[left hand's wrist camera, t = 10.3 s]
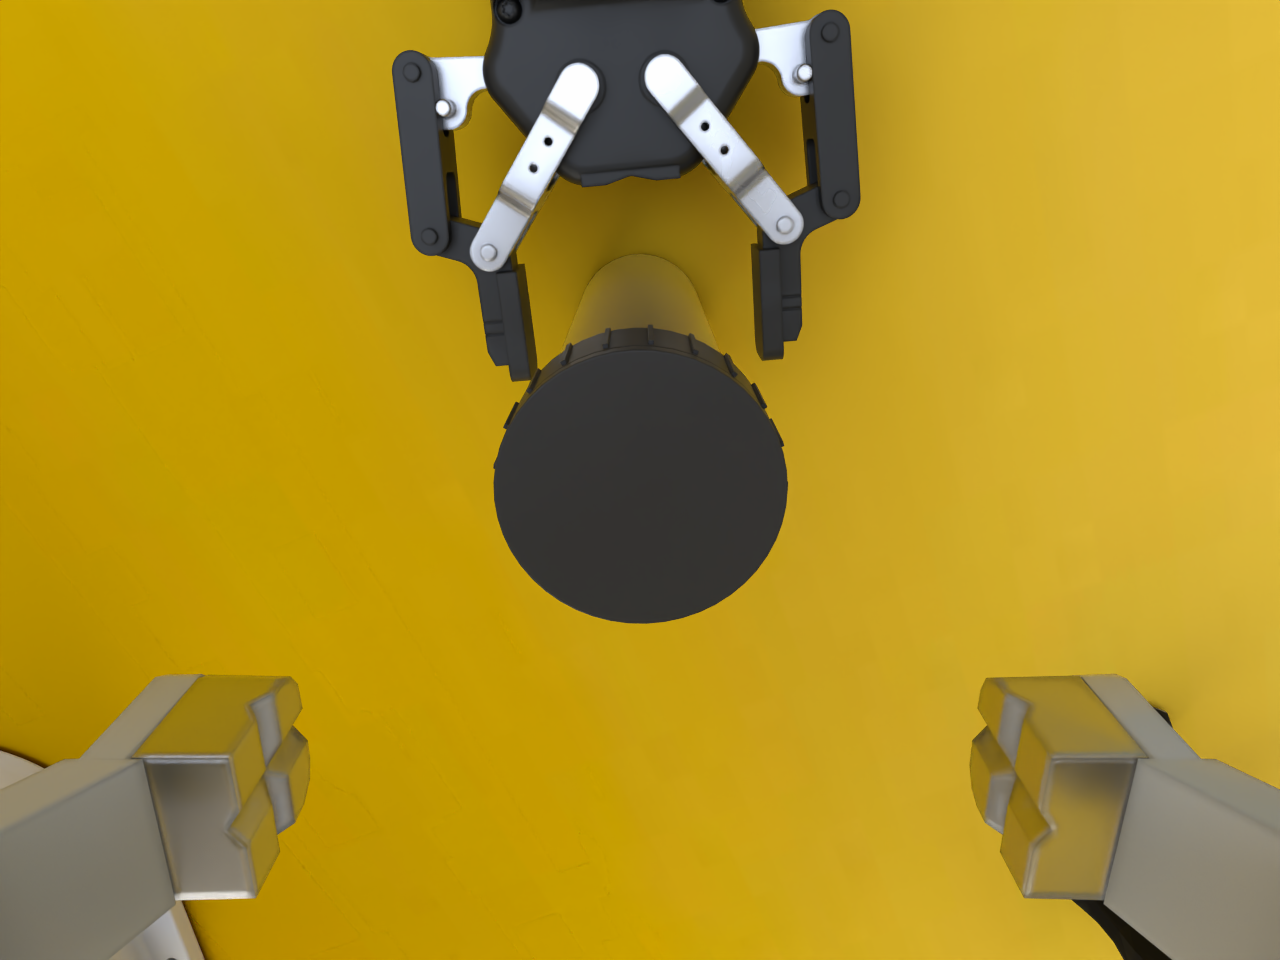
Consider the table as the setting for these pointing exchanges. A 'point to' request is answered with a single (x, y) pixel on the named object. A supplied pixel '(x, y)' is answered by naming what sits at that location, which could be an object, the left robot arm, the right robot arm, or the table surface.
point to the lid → (640, 477)
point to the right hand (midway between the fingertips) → (647, 365)
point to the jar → (640, 300)
